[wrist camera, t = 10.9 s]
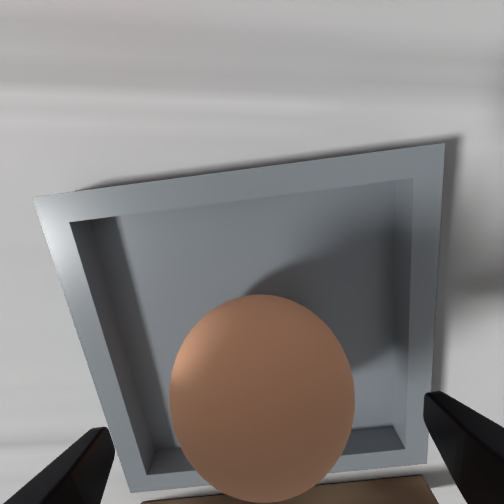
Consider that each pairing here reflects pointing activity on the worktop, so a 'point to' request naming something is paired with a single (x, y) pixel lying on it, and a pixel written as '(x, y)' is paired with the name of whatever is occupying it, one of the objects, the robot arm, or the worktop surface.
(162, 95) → the worktop surface
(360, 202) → the dish
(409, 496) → the fence
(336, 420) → the ball
